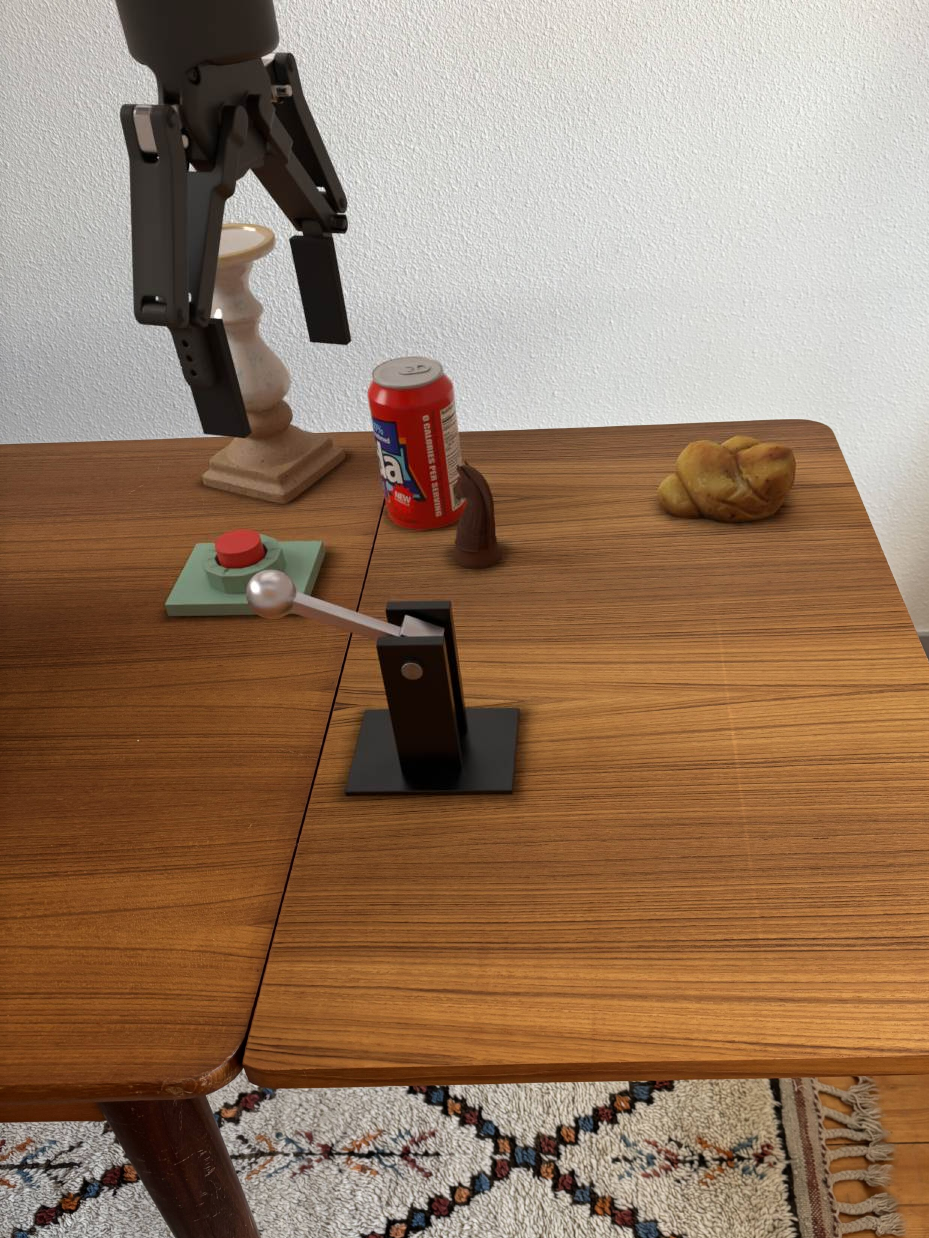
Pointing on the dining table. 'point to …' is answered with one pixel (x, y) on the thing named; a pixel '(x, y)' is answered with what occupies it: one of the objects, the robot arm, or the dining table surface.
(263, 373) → the candle holder
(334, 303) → the robot arm
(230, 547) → the button
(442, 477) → the soda can
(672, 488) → the bread roll
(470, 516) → the chess piece
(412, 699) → the lever stand
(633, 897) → the dining table surface
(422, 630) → the silver lever handle
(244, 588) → the button block
